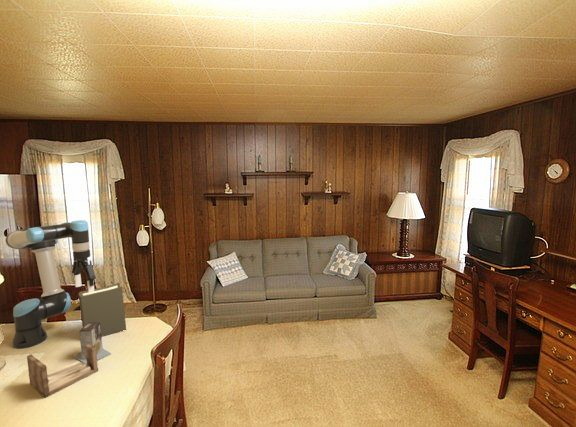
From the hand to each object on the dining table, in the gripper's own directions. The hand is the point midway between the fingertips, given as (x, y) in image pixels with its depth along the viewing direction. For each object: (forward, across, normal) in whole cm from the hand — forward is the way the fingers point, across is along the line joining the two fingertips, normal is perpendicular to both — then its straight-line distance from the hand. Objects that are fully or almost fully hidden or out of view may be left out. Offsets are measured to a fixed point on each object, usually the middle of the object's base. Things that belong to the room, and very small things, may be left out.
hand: (84, 289), depth 167 cm
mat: (+35, -7, +2) cm, 35 cm away
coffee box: (+34, -7, +2) cm, 35 cm away
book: (+35, +12, -14) cm, 39 cm away
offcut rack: (+35, -15, +18) cm, 42 cm away
